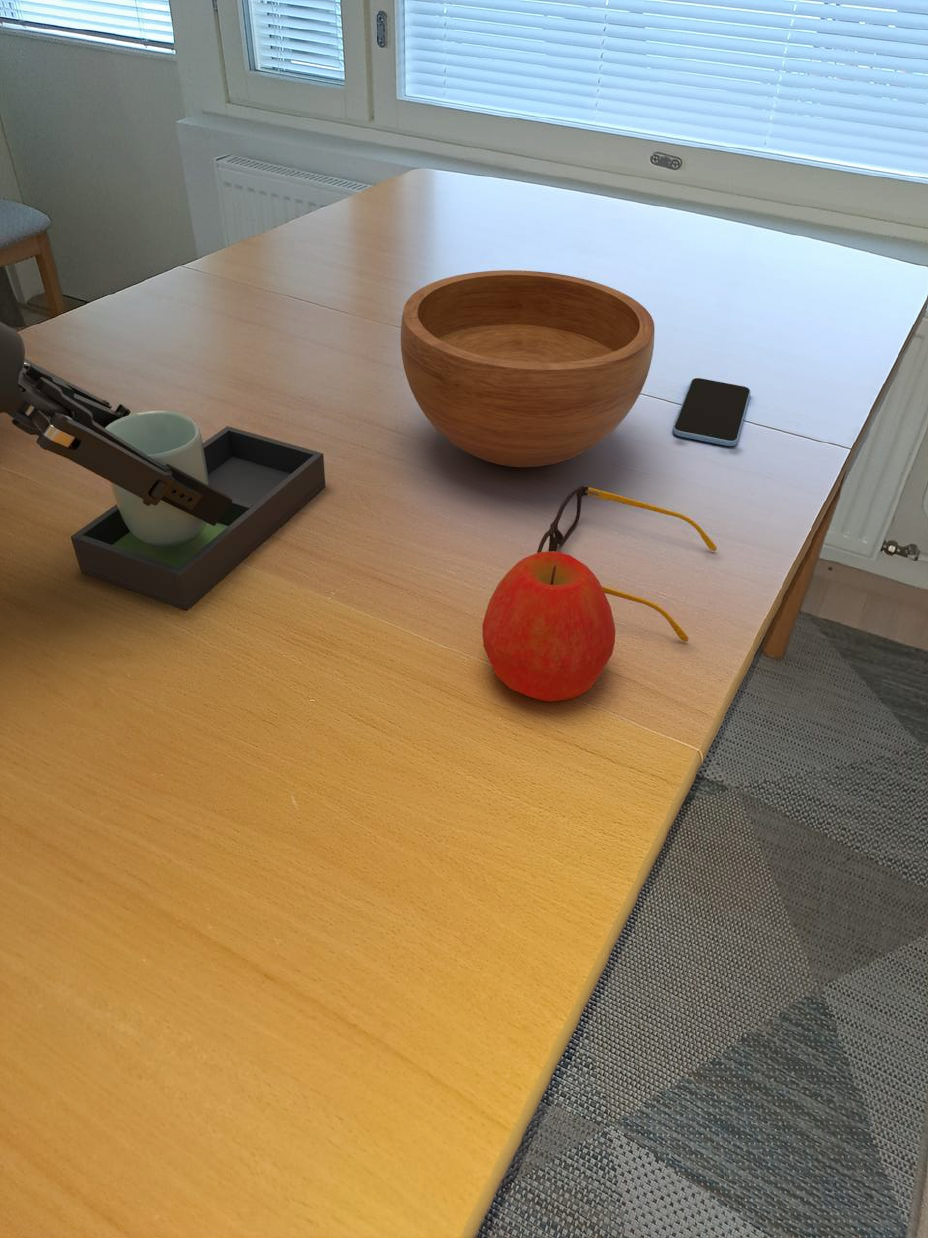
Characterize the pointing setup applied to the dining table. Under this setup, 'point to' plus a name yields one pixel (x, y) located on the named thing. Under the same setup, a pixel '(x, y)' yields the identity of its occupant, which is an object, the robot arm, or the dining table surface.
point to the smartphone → (712, 412)
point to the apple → (549, 627)
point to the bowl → (525, 362)
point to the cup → (167, 444)
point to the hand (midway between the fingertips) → (201, 488)
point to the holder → (262, 502)
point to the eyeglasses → (609, 496)
